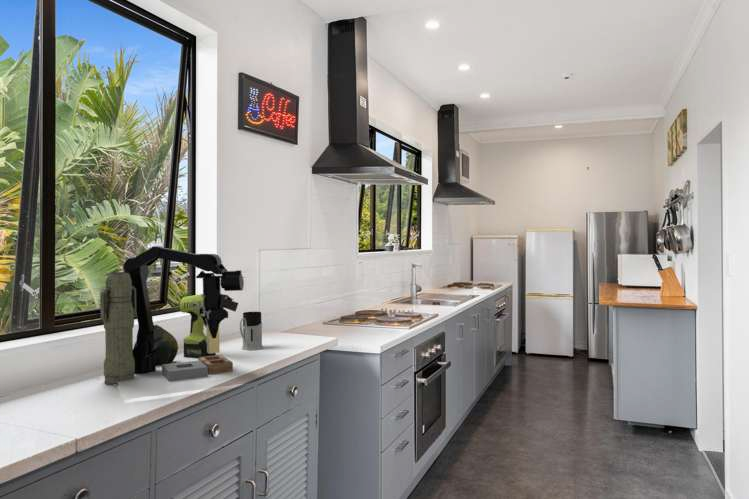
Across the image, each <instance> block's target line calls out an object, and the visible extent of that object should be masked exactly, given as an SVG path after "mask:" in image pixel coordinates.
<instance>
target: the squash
mask: <svg viewBox="0 0 749 499" xmlns="http://www.w3.org/2000/svg"><path fill="white" fill-rule="evenodd" d="M154 326H155V327H156V329H158V328H161V336H162V338H163V339H162V340H161V345H160V346H159V348H157V349H156V352H155V354H153V356H154V359H155V360H156V366H162V364H170V363H173V361H175V359H176V357H177V355H178V352H179V351H178V350H179V345H178V341H177V339H176V337H175V336H174V335H173V334H172V333H171V332H169V331H168V330H166V329H165V328H163V327H162V326H160V325H158V324H154ZM136 346H137V340H136V341H135V342H134V345H133V349H134V348H135V347H136Z"/></svg>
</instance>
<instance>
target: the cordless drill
mask: <svg viewBox="0 0 749 499" xmlns="http://www.w3.org/2000/svg"><path fill="white" fill-rule="evenodd" d="M202 294H203V293H201V294H195V295H189V296H183V297H182V298H181V299H180V303H179V310H180V312H182V313H184V314H189V315H190V317H191V318H190V328H189V329H190V331H189V335H188V336H185V337H184V338H183V358H190V359H191V358H192V359H199V357H206V356H216V354H217V353H211V354H209V353H208V352H207V334H205V333H204V330H205V329H204V328H205V325H204V323H203V321H202V319H201V317H200V316H203V313H202V314H200V315H199V314H198V308H199V306H203V298H202ZM221 294H222V295H223V298H224V299H225V298H226V297H230V296H229V295H228V294H225V293H224V294H223V293H221ZM234 300H235V299H234V298H232V301H234Z"/></svg>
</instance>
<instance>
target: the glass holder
mask: <svg viewBox="0 0 749 499" xmlns="http://www.w3.org/2000/svg"><path fill="white" fill-rule="evenodd" d="M262 325H263V323H262V312H261V311H246V312H245V311H244V312H243V313H242V318H241V319H240V321H239V331H240V335H241V338H242V347H241V350H243V351H257V350H258V351H259V350H263V349H264V347H263V333H262V332H263V331H262V330H263V327H262Z"/></svg>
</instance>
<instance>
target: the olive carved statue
mask: <svg viewBox="0 0 749 499" xmlns="http://www.w3.org/2000/svg"><path fill="white" fill-rule="evenodd" d="M99 294H100V295H99V299H100V305H99V307H100V312H99V313H100V315H99V316H100V318H99V319H100V320H101V321H103V328H104V330H105V338H104V339H105V358H104V361H103V376H104V381H103V382H104V384H105V385H108V386H117V385H118V386H119V383H118V382H126V381H130V380H133V379H134V378H135V374H134V372H135V360H134V357H133V349H134V345H133V343H134V341H133V337H134V336H133V332H134V331H133V329H134V327H135V318H137V314H136V289H135V287H134V286H132V281H131V278H130V275H129V273H127V272H124V271H116V272H115V271H113V272H110V273H108V274H107V277H106V279H105V288H102V289H101V291H100V293H99Z"/></svg>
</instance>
